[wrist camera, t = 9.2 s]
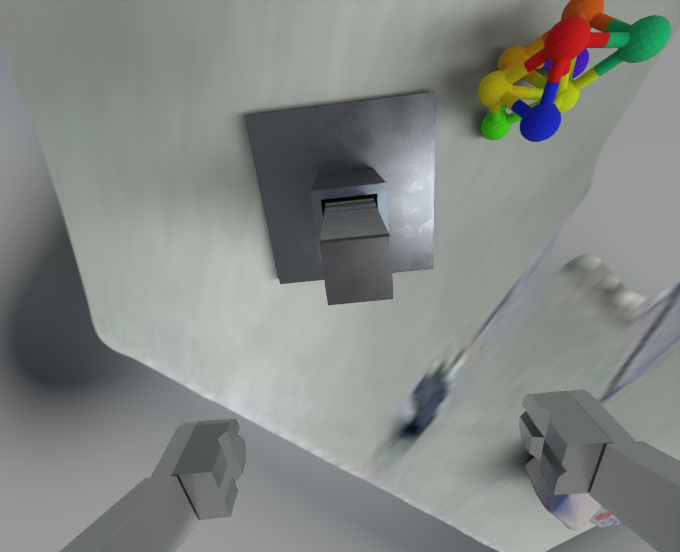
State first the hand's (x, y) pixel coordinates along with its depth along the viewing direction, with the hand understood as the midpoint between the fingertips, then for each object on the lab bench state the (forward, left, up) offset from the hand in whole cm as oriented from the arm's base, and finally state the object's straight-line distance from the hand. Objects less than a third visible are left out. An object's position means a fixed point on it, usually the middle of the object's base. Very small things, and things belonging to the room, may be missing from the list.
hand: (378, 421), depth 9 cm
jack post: (0, 0, -27) cm, 27 cm away
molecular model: (-10, +19, -33) cm, 39 cm away
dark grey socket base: (0, 0, -33) cm, 33 cm away
